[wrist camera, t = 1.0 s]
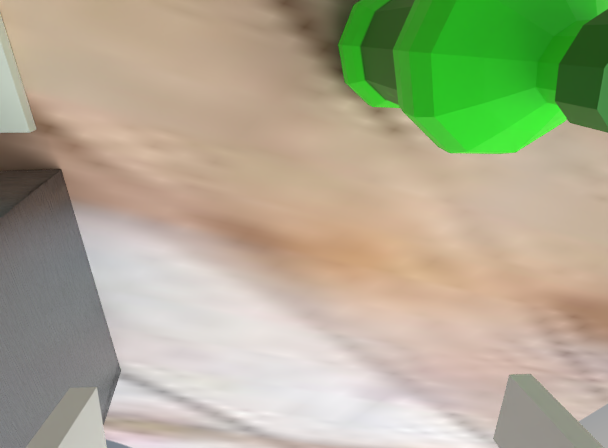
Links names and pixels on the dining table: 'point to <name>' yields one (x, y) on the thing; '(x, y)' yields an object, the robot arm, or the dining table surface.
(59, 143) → the dining table surface
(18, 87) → the sage mat
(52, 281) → the rack
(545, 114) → the plastic bottle
